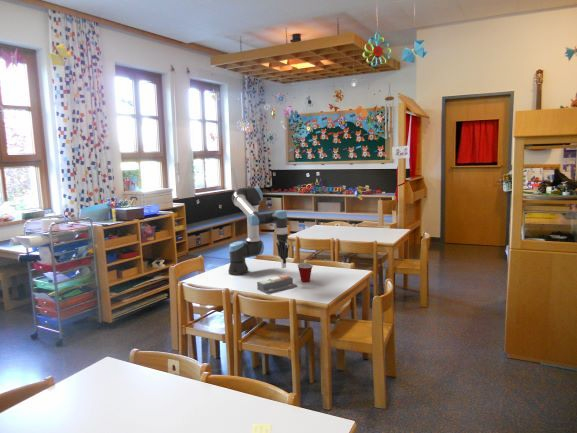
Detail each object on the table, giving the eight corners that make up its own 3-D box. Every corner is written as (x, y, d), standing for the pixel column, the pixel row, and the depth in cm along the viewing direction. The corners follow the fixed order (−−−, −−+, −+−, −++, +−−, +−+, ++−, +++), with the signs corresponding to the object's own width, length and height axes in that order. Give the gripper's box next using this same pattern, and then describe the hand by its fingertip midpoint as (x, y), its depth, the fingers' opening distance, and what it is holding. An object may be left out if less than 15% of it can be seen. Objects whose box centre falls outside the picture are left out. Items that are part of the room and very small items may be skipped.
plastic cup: (310, 284, 297) (309, 267, 295) (295, 283, 302) (294, 266, 300) (315, 280, 307) (315, 263, 305) (301, 278, 312) (301, 262, 310)
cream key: (269, 282, 295) (268, 278, 295) (276, 280, 298) (276, 276, 298) (273, 284, 290) (273, 279, 290) (281, 282, 293) (281, 278, 293)
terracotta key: (278, 280, 299) (278, 275, 298) (285, 278, 302) (285, 274, 302) (283, 282, 294) (282, 277, 293) (290, 280, 297) (290, 276, 297)
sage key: (259, 285, 291) (259, 281, 291) (267, 284, 294) (267, 279, 294) (264, 288, 286) (263, 283, 286) (271, 286, 289) (271, 281, 289)
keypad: (257, 289, 292) (257, 282, 291) (286, 282, 304) (286, 275, 303) (267, 294, 281) (266, 286, 281) (296, 286, 294) (296, 279, 293)
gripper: (272, 233, 297) (274, 266, 300) (282, 235, 286) (284, 270, 289) (281, 231, 301) (283, 265, 304) (292, 233, 290) (293, 268, 293)
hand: (283, 267), depth 297 cm, fingers closed
